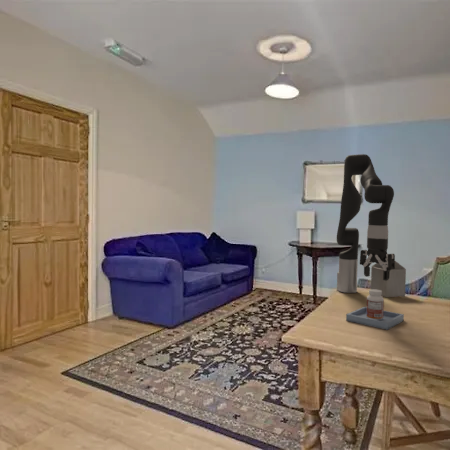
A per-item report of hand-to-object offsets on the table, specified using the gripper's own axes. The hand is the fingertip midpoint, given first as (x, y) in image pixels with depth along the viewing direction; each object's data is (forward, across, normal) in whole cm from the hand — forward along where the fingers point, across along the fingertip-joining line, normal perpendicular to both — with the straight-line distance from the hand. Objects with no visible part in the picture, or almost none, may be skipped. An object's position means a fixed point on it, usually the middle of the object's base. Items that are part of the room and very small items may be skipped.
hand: (376, 278), depth 151 cm
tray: (+17, 0, 0) cm, 17 cm away
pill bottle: (+16, 0, 0) cm, 16 cm away
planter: (+17, -25, +41) cm, 51 cm away
